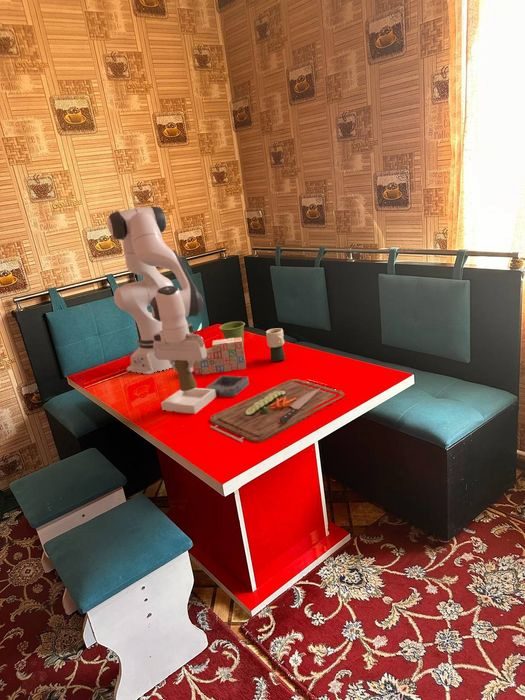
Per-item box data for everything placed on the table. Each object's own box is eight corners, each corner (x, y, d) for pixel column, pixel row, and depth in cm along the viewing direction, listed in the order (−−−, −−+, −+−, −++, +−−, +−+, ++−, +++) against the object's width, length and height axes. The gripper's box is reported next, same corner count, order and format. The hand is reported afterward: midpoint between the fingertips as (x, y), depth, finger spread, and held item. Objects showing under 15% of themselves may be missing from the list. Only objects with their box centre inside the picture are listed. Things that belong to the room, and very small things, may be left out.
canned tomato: (194, 347, 248) (191, 326, 244) (179, 349, 248) (174, 328, 244) (196, 342, 255) (192, 321, 252) (181, 344, 255) (177, 323, 252)
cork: (199, 383, 181) (191, 354, 178) (192, 390, 176) (184, 360, 173) (185, 385, 183) (176, 356, 181) (177, 391, 178) (169, 362, 175)
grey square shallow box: (207, 394, 188) (205, 387, 187) (222, 382, 198) (221, 375, 197) (234, 396, 183) (232, 389, 182) (249, 384, 192) (247, 376, 191)
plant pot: (221, 347, 242) (217, 324, 239) (245, 342, 244) (242, 320, 241) (225, 354, 231) (221, 330, 228) (250, 349, 233) (247, 325, 230)
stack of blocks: (194, 376, 209) (189, 347, 206) (196, 370, 215) (191, 343, 212) (246, 369, 209) (241, 340, 205) (246, 363, 215) (241, 336, 211)
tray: (162, 410, 180) (160, 402, 179) (185, 394, 191) (183, 387, 190) (195, 413, 173) (193, 405, 172) (216, 396, 185) (215, 389, 184)
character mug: (291, 360, 211) (288, 331, 207) (276, 365, 208) (272, 335, 204) (279, 354, 220) (275, 326, 216) (264, 359, 217) (260, 330, 213)
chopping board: (298, 379, 192) (297, 371, 191) (353, 394, 172) (353, 386, 171) (200, 424, 166) (199, 416, 165) (252, 449, 146) (251, 439, 145)
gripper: (206, 331, 172) (213, 369, 176) (158, 331, 181) (166, 367, 186) (196, 337, 167) (203, 376, 171) (147, 336, 176) (155, 373, 180)
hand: (183, 371), depth 178 cm, fingers open, 4 cm apart
